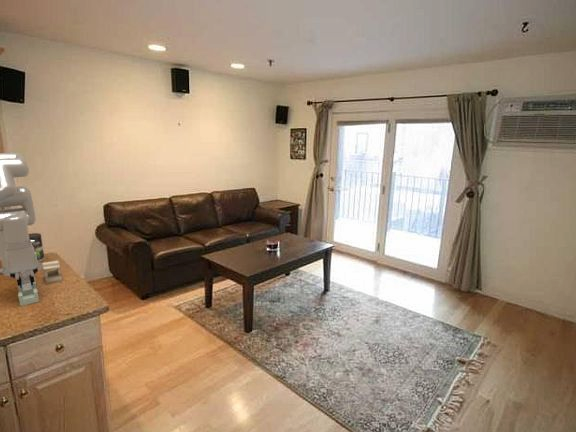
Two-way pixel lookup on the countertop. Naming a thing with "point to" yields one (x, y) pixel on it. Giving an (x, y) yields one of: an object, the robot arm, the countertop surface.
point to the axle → (25, 280)
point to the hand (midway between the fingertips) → (26, 285)
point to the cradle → (28, 295)
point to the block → (52, 275)
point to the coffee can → (37, 245)
